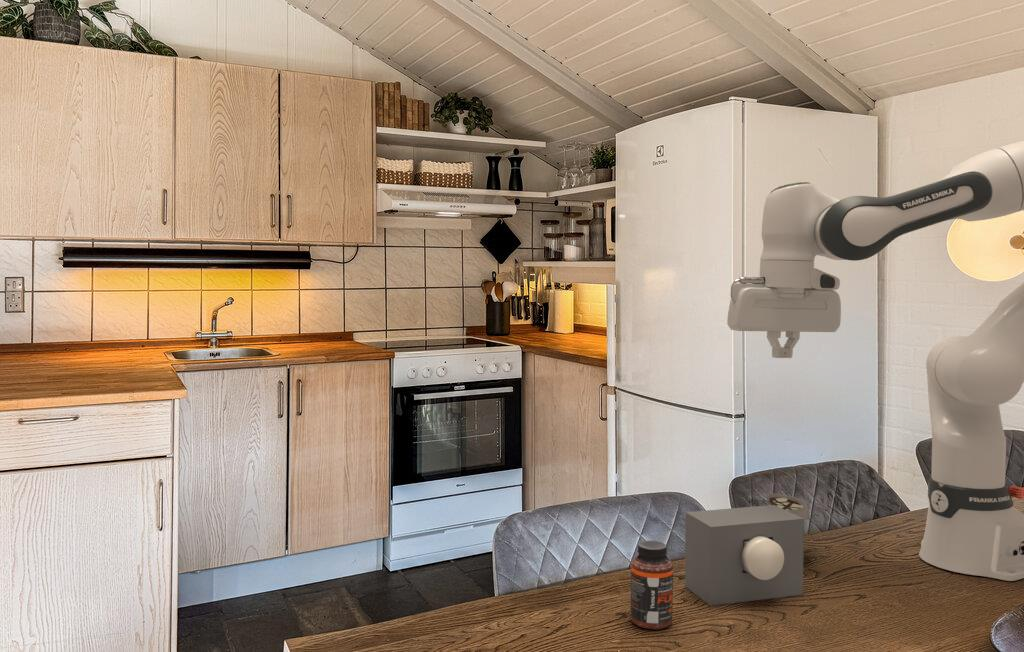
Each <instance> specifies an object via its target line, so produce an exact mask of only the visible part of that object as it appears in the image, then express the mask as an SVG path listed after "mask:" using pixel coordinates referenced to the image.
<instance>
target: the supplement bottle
mask: <svg viewBox="0 0 1024 652" xmlns="http://www.w3.org/2000/svg"><path fill="white" fill-rule="evenodd" d="M637 544H638V545H637V553H638V554H637V555H636V556H634V558H633V559H632V560H631V562H630V563H631V564H630V568H631V569H630V620H631V622H632V623H633V624H635V625H636V626H637V627H640V628H641V629H642V628H643V629H647V630H653V631H654V630H663V629H666V628H668V627H670V626H671V624H672V622H673V613H674V612H673V611H674V610H673V604H674V603H673V600H674V599H673V596H674V594H673V593H674V591H673V590H674V564H673V562H672V561H671V559H669V558H668V556H667V554H668V552H667V551H668V550H667V544H665V543H664V542H663V541H658V540H643V541H639V542H638V543H637Z"/></svg>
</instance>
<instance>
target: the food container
mask: <svg viewBox="0 0 1024 652" xmlns="http://www.w3.org/2000/svg"><path fill="white" fill-rule="evenodd" d="M767 496H768V497H767V504H768V505H775V506H777V507H780V508H782V509H784V510H786V511H788V512H791V513H793V514H795V515H797V516H799V517H801V518H804V528H805V526H806V525H805V524H806V521H807V520H808V519H809V518H810V513H809V509H808V506H807V503H806V501H804V500H803V499H800V498H798V497H795V496H792V495H786V494H782V493H781V494H780V493H768V495H767Z"/></svg>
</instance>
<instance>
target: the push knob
mask: <svg viewBox="0 0 1024 652" xmlns="http://www.w3.org/2000/svg"><path fill="white" fill-rule="evenodd" d="M742 564H743V570H745V571H747V572H748V573H750V574H752V575H753V576H755V577H756V578H758V579H761V580H769V579H772V578H773V577H775V576H776V575H777V574H778V573H779V572H780V571H781V569H782V567H783V564H784V553H783V550H782V548H781V547H780V545H779V544H778V543H776V542H774V541H772V540H771V539H769V538H767V537H763V536H759V537H755V538H753V539H746V540H743V552H742Z"/></svg>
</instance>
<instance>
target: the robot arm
mask: <svg viewBox="0 0 1024 652" xmlns="http://www.w3.org/2000/svg"><path fill="white" fill-rule="evenodd" d="M1021 211H1022V212H1023V211H1024V140H1021V141H1017V142H1012V143H1009V144H1006V145H1001V146H998V147H995V148H991V149H989V150H986V151H983V152H981V153H979V154H976V155H974V156H972V157H969V158H967V159H965V160H962V161H961V162H960V163H957V164H956V165H954V166H953V167H951V168H950V169H949V171H948V172H947V174H946V175H945V176H943V177H942V178H940V179H938V180H936V181H934V182H932V183H929V184H926V185H923V186H919V187H916V188H914V189H910V190H907V191H904V192H901V193H897V194H893V195H889V196H886V197H884V196H883V197H878V196H876V197H875V196H868V195H854V196H853V195H852V196H848V197H845V198H843V199H839V198H836V197H834V196H832V195H829V193H828V194H827V193H825V192H823V190H821V189H819V188H818V187H816V185H815V184H814V183H812V182H807V181H806V182H805V181H804V182H794V183H789V184H784V185H779V186H778V187H776V188H774V189H773V190H771V191H770V193H769V194H767V197H766V199H765V202H764V207H763V212H762V213H763V215H762V222H761V223H762V224H761V238H762V239H761V240H762V243H763V248H762V253H761V254H760V260H759V276H754V277H753V276H751V277H748V276H740V277H738V279H736V280H734V281H733V282H732V284H731V286H730V301H729V306H728V311H727V319H726V321H727V323H726V324H727V326H728V328H729V329H730V330H731V331H738V332H766V338H767V340H768V342H769V344H770V347H771V357H772V358H774V359H792V358H793V354H794V353H793V352H794V348H795V347H796V345H797V343H798V342H799V340H800V338H801V337H800V335H801V334H800V333H836V332H837V330H838V329H840V327H841V320H842V319H841V317H842V315H841V314H842V304H841V303H842V302H841V297H840V293H838V292H837V291H836V290H838V289H840V285H841V280H840V278H839V277H837V276H835V275H833V274H830V273H827V272H825V271H823V270H820V269H819V268H817V267H815V258H816V256H820V257H825V258H828V259H831V260H833V261H852V262H853V261H856V262H857V261H862V260H863V261H864V260H867V259H870V258H872V257H874V256H876V255H877V254H878V253H879V252H881V251H882V250H883V249H885V248H886V247H887V246H888V245H889V244H890V243H891V242H893V241H894V240H896V239H897V238H898V237H901V236H903V235H906V234H909V233H913V232H914V231H918V230H921V229H924V228H926V227H930V226H934V225H936V224H940V223H943V222H946V221H952V220H963V221H966V222H979V221H985V220H993V219H995V218H996V219H997V218H1002V217H1006V216H1008V215H1012V214H1016V213H1019V212H1021ZM782 332H785V338H787V340H786V341H785V344H784V345H783V346H781V344H780V341H779V339H780V338H781V337H782ZM926 357H927V358H926V363H925V366H926V375H927V377H926V378H927V393H928V405H929V415H930V416H929V417H930V424H931V435H932V436H931V476H930V477H929V478H928V482H927V483H928V484H927V498H928V502H929V505H928V509H927V516H926V523H925V528H924V534H923V539H922V540H921V542H920V546H921V547H920V550H919V553H918V557H919V558H920V559H921V560H923V561H924V562H926V563H927V564H930V566H931V565H932V566H935V567H937V568H939V569H943V570H947V571H950V572H953V573H960V574H963V575H970V576H980V577H985V578H986V577H987V578H992V579H996V580H997V579H998V580H1001V581H1006V582H1007V581H1008V582H1013V581H1018V580H1021V579H1024V514H1023V512H1021V511H1020V510H1018V509H1017V508H1016V507H1015V506H1014V501H1013V497H1014V498H1016V499H1018V500H1024V487H1022V486H1021V487H1020V486H1017V485H1015V484H1014V485H1010V486H1008V485H1007V484H1006V464H1007V436H1006V434H1005V430H1004V427H1003V422H1002V417H1001V411H1000V409H1001V408H1000V405H1003V404H1006V403H1007V402H1009V401H1010V400H1012V399H1013V398H1015V396H1016V395H1018V393H1019V392H1020V391H1021V388H1022V385H1023V384H1024V282H1023V283H1021V284H1020V285H1018V287H1016V288H1014V290H1013V291H1012V292H1011V293H1009V294H1007V296H1005V297H1004V298H1003V299H1002V300H1001V301H1000V302H999V304H998V305H997V307H996V308H994V310H993V312H992V313H990V315H989V316H988V317H987V318H986V319H985V320H984V322H982V323H981V324H980V326H978V327H977V329H976V330H975V331H974V332H972V333H971V334H970V335H968V336H966V335H957V336H951V337H948V338H945V339H942V340H941V341H939V342H938V343H936V345H934V346H933V347H932V348H931V349H930V351H929V353H928V355H927V356H926Z"/></svg>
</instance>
